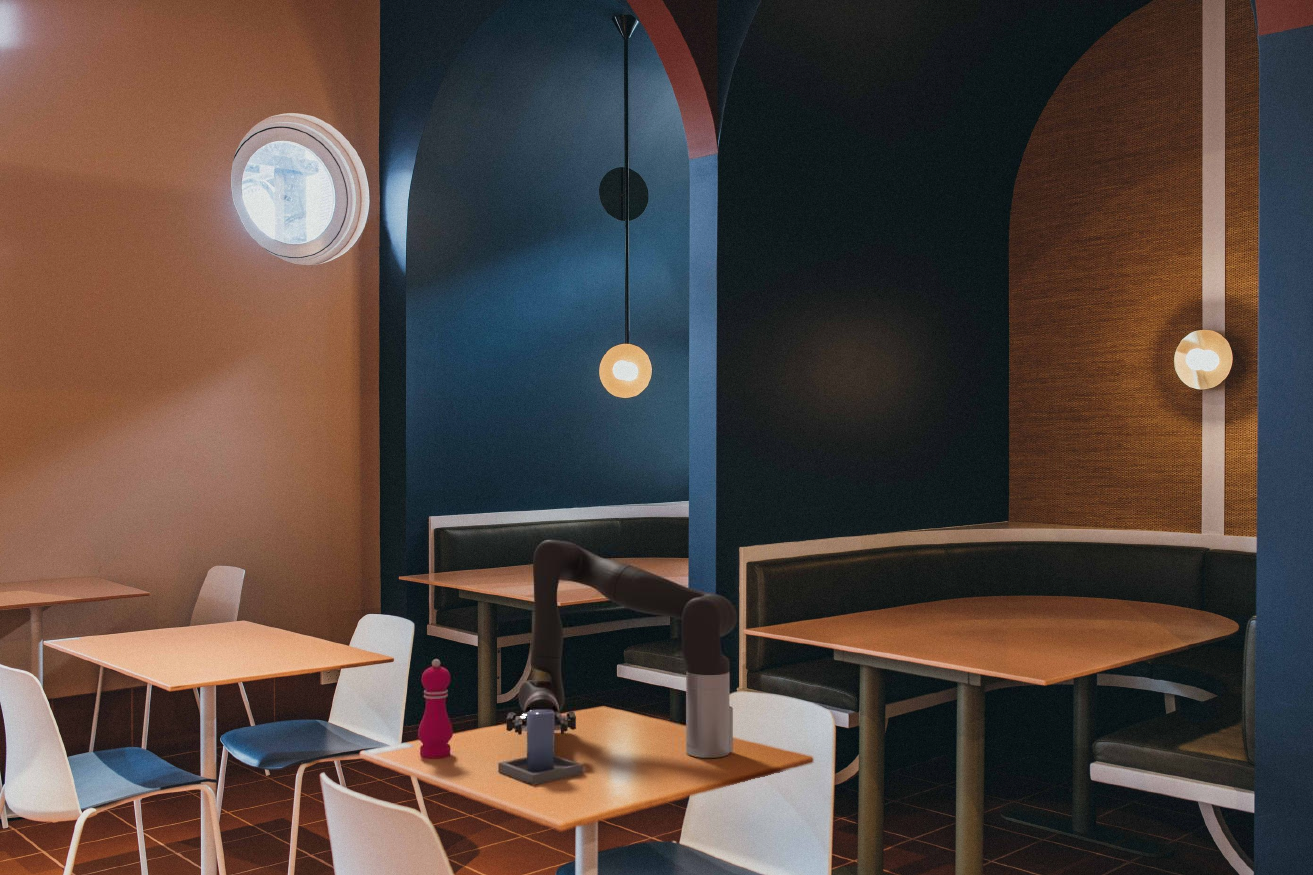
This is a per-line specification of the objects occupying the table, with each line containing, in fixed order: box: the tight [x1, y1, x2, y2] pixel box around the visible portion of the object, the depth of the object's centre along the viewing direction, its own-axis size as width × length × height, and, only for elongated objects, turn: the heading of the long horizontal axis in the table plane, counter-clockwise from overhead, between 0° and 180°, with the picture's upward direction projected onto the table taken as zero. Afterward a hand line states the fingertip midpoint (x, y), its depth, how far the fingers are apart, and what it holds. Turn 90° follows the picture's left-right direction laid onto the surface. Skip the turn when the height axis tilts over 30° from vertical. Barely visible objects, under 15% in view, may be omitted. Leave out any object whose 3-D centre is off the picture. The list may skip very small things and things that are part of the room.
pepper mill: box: [417, 658, 454, 759], centre depth 228 cm, size 7×7×20 cm
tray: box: [497, 754, 584, 786], centre depth 214 cm, size 12×12×2 cm
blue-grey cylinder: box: [526, 710, 555, 772], centre depth 214 cm, size 5×5×11 cm
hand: (541, 729), depth 217 cm, fingers open, 8 cm apart
